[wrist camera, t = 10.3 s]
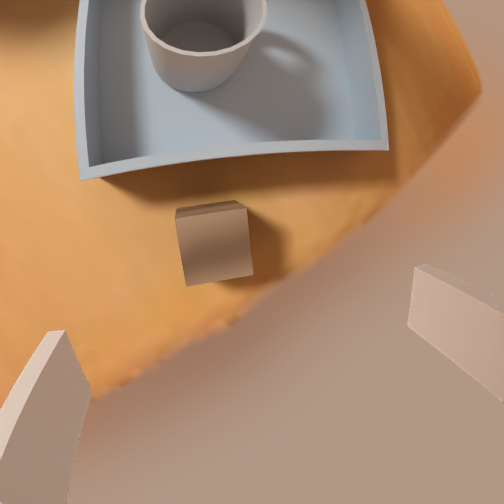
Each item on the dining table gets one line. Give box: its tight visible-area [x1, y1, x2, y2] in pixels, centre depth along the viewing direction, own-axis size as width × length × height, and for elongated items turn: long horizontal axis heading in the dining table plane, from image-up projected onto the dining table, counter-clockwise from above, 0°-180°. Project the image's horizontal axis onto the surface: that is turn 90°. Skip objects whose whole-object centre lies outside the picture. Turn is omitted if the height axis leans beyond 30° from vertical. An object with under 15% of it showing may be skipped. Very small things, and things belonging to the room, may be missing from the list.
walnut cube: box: [175, 200, 253, 286], centre depth 23 cm, size 5×5×5 cm
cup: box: [140, 0, 268, 92], centre depth 16 cm, size 7×10×9 cm
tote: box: [74, 0, 389, 181], centre depth 19 cm, size 20×24×5 cm
